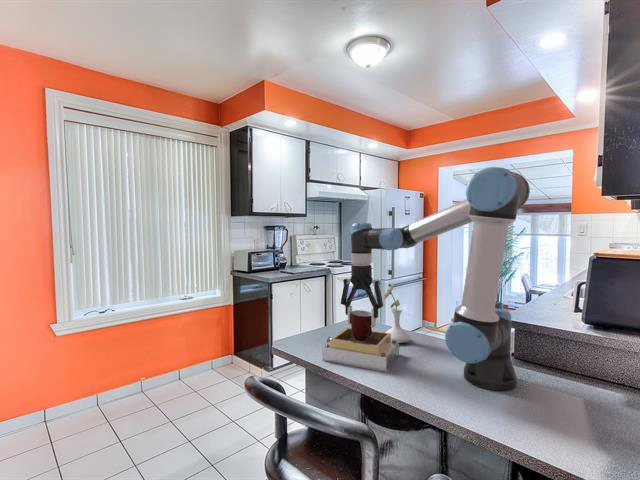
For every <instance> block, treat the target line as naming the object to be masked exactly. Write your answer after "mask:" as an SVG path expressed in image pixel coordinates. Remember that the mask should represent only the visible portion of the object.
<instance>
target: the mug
mask: <svg viewBox="0 0 640 480" xmlns="http://www.w3.org/2000/svg"><path fill="white" fill-rule="evenodd" d="M350 326H351V327H350V328H352V334H353V336H354V338H355V340H357V341H365V340H366V338H367V337H369V336H371V333H372V331H373V329H372V328H373V327H371V312H370V311H367V310H361V309H360V310H352V312H351V324H350Z"/></svg>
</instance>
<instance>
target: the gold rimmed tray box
mask: <svg viewBox="0 0 640 480" xmlns="http://www.w3.org/2000/svg"><path fill="white" fill-rule="evenodd" d="M398 356H400V343H399V341H396V340H391V333H386V332H381V331H375V330H372V333H371V336H369V337H367V338H366V340H365V341H357V340H355V338H354V336H353V334H352V328H351V327H345V329H343V330H342V331H340V332H339V333H337V334H336V335H334V336H333V337H330V336H328V337H327V338H326V344H324V345H322V346H321V359H322V361H324V362H329V363H335V364H340V365H346V366H351V367H355V368H362V369H365V370H370V371H372V370H373V371H377V372H383V373H387V372H388V371H389V369H390V368H391V367H392V365H393V364H394V362H395V361H396V359H397V358H398Z"/></svg>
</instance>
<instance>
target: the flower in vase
mask: <svg viewBox="0 0 640 480" xmlns="http://www.w3.org/2000/svg"><path fill="white" fill-rule="evenodd" d="M394 287H395V284H394V283H392V284H390V287H389V288H388V289H387V290H386V293H385V294H384V296H383V297H382V300H386V299H388V297H389V296H392V299H393V301H394V302H393V303H392V304H391V305H390V310H391V311H392V314H393V326H392V327H391V328H390V329H388V330H387V331H385V333H391V340H396V341H399V344H403V343H407V342H409V341H410V340H411V336H410V334H409V333H408V332H407V331H406V330H405V329H403V328H402V327H401V324H400V319H401V314H402V312H403V310H404V309H403V308H400V307H399V306H400V305H401V303H400V301H399V299H395V297H394V294H393V293H392V291H393V289H394ZM394 306H395V307H394Z"/></svg>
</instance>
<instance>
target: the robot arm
mask: <svg viewBox="0 0 640 480" xmlns="http://www.w3.org/2000/svg"><path fill="white" fill-rule="evenodd" d="M530 190H531V189H530V184H529V182H528V180H527V179H526V178H525V177H524V176H523V175H522V174H519V173H517V172H515V171H512V170H509V169H507V168H505V167H498V166H491V167H490V166H489V167H486V168H483V169H480V170H479V171H477V172H476V173H474V175H472V176H471V177H470V179H469V181H468V183H467V184H466V188H465V199H464V200H461V201H459V202H457V203H455V204H453V205H451V206H449V207H446V208H443V209H441V210H439V211H437V212H435V213H432V214H430V215H427V216H425V217H423V218H420V219H419V220H417V221H414V222H412V223H410V224H408V225H405V226H402V227H382V228H380V227H379V228H373V227H372V224H371V223H370V222H355V223H352V224H351V229H350V231H351V233H350V240H351V241H350V243H351V251H350V252H351V253H350V254H351V257H350V261H351V262H350V263H351V264H352V265H351V267H350V268H351V269H350V270H351V271H350V272H351V273H350V275H351V276H350V278H349V277H346V278H344V279H343V281H342V282H343V289H342V293H341V299H340V305H343V306H344V307H345V315H346V316H347V325H351V312H352V311H353V305H352V304H351V303H352V301H353V299H354V297H355V295H356V293H357V290H358V291H359V290H362V291H365V293H366V294H367V297H368V299H369V302H370V304H371V306H372V309H371V312H370V313H371V328H374V327H376V325H377V324H376V320H377V319H378V317H379V309H382V308H383V307H384V301H383V297H382V292H381V288H380V287H381V285H380V284H381V280H380V279H378V280H375V279H373V277H372V276H373V275H372V273H373V272H372V269H373V267H372V265H371V264H372V260H373V258H372V256H373V255H372V253H373V252H372V251H373V250H381V251H382V250H383V251H395V250H399V249H409V248H414V247H416V246H417V244H419V243H421V242H424V241H427V240H429V239H432V238H434V237H437V236H440V235H442V234H445V233H447V232H451V231H453V230H456V229H458V228H460V227H463V226H465V225H468V224H471V223H472V224H473V225H472V231H471V237H470V238H471V239H470V245H469V252H468V258H467V267H466V273H465V278H464V285H463V291H462V300H461V304H460V305H458V306H457V307H455V309H454V313H453V321H452V323H451V324H449V326H448V327H447V329H446V331H445V333H444V341H445V344H446V347H447V349H448V350H449V352H450V353H451V354H452V355H453V357H455V358H456V359H458V360H459V361H461V362H463V363H465V365H464V366H463V367H464V368H463V378H464V380H465V381H467V382H468V383H469V384H471V385H473V386H476V387H479V388H481V389H485V390H491V391H497V392H498V391H499V392H500V391H501V392H503V391H504V392H505V391H511V390H514V389H516V388H517V385H518V377H517V374H516V371H515V368H514V365H513V363H512V358H511V357H512V353H511V352H512V323H513V320H512V314H511V312H510V311H508V310H507V309H504V308H497V307H496V303H497V299H498V298H497V296H498V290H499V285H500V278H501V273H502V266H503V262H504V261H503V260H504V255H505V247H506V241H507V236H508V235H507V234H508V230H509V226H510V225H511V224H514V222H516V220H517V219H516V218H517V214H518V210H519V209H521V208H522V207H523V206H525V204H526V203H527V202H528V200H529V197H530V193H531V192H530ZM350 285H352V288H351V291H350V293H349V287H350ZM371 285H373V287H374V291H375V295H374V292H373V291H372V287H371ZM348 294H349V295H348Z"/></svg>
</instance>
